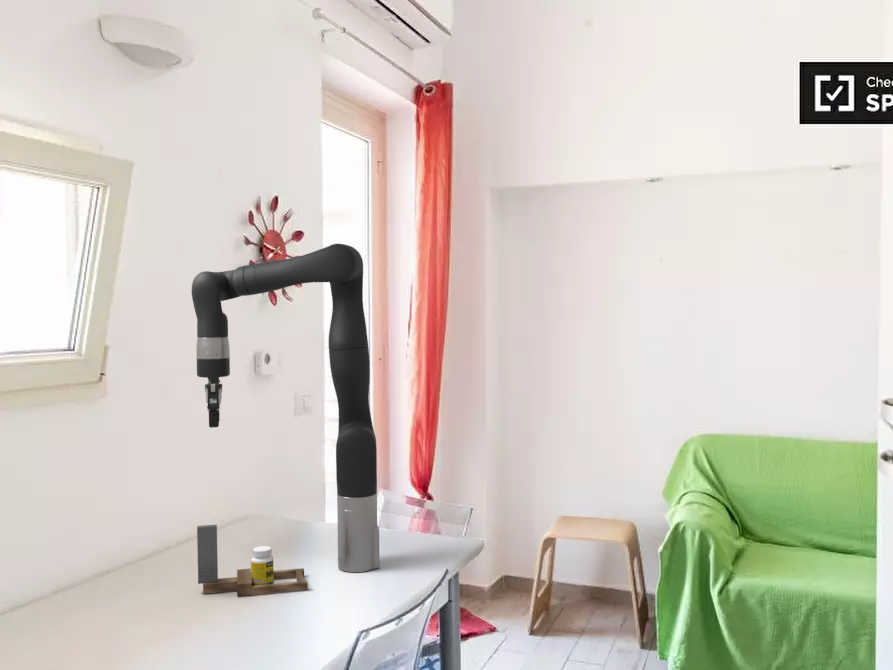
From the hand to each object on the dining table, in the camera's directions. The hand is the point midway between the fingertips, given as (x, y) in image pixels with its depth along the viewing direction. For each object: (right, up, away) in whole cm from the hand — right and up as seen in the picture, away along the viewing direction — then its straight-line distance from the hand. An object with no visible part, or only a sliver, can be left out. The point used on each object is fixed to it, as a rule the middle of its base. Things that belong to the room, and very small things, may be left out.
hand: (214, 424), depth 192 cm
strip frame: (+13, -33, -16) cm, 39 cm away
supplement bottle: (+15, -34, -15) cm, 40 cm away
